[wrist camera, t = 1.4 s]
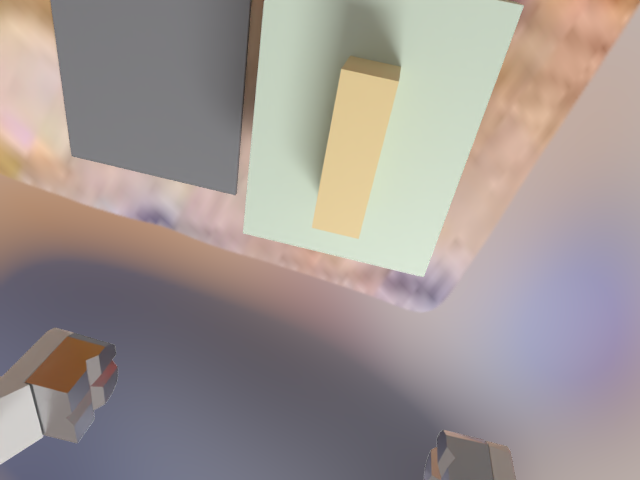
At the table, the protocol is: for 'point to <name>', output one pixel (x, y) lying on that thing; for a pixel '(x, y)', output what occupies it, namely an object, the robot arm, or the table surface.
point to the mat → (156, 85)
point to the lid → (369, 121)
